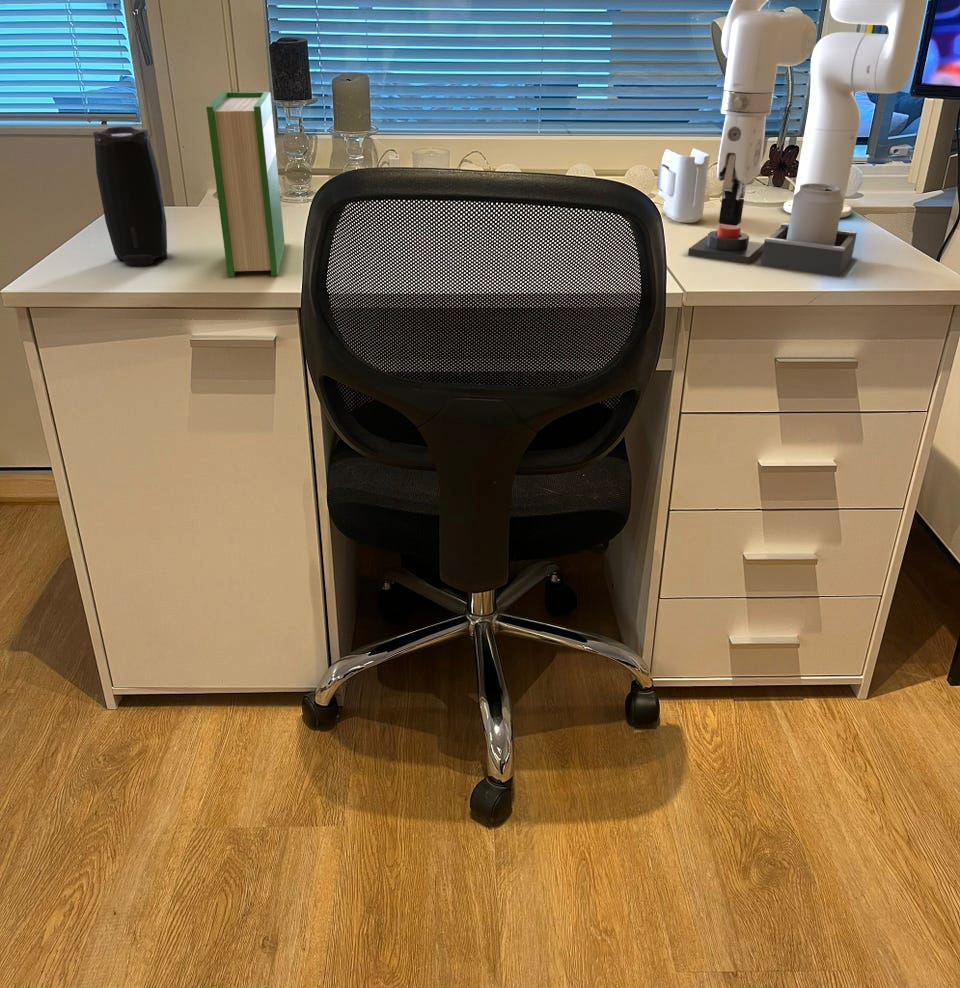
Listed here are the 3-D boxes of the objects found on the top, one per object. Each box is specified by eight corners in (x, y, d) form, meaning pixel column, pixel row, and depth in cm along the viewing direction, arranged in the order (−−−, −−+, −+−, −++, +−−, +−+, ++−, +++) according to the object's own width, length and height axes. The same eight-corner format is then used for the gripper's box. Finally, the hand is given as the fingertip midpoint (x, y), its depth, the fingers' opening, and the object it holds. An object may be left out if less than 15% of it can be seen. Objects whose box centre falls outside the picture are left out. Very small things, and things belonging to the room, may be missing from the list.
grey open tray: (778, 249, 158) (782, 222, 156) (851, 258, 153) (857, 231, 151) (760, 266, 149) (764, 238, 147) (838, 277, 144) (843, 248, 142)
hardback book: (277, 275, 142) (260, 106, 130) (228, 276, 141) (206, 107, 130) (284, 245, 157) (270, 91, 146) (240, 246, 157) (221, 92, 145)
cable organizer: (682, 210, 183) (690, 145, 177) (708, 225, 173) (717, 157, 167) (650, 211, 182) (657, 146, 176) (675, 226, 171) (682, 158, 166)
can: (833, 270, 147) (849, 192, 142) (784, 267, 149) (797, 189, 143) (828, 257, 154) (842, 182, 148) (781, 254, 155) (793, 180, 149)
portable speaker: (129, 251, 154) (107, 124, 144) (182, 254, 152) (163, 127, 142) (101, 265, 146) (76, 133, 137) (156, 269, 145) (134, 135, 135)
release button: (720, 233, 157) (721, 223, 156) (741, 236, 155) (743, 225, 154) (714, 238, 154) (715, 227, 153) (735, 241, 152) (737, 230, 152)
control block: (705, 242, 162) (707, 225, 160) (763, 250, 158) (766, 232, 156) (687, 255, 154) (689, 237, 153) (748, 264, 150) (750, 245, 149)
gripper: (758, 110, 137) (740, 236, 146) (782, 100, 149) (763, 217, 158) (708, 106, 140) (693, 230, 149) (735, 97, 152) (719, 212, 161)
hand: (729, 223), depth 153 cm, fingers closed
